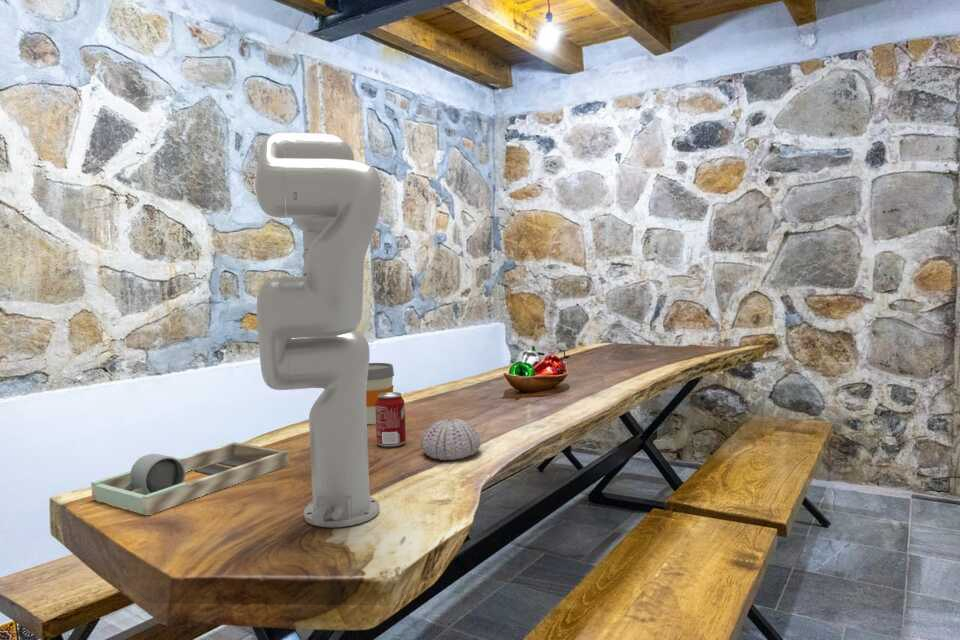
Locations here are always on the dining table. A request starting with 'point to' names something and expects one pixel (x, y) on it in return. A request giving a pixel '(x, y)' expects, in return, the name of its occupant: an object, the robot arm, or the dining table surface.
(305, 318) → the robot arm
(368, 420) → the reusable coffee cup
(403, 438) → the soda can
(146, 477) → the ceramic mug
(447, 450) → the sea urchin shell
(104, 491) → the shallow mint tray
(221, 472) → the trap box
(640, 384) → the dining table surface
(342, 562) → the dining table surface
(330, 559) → the dining table surface
